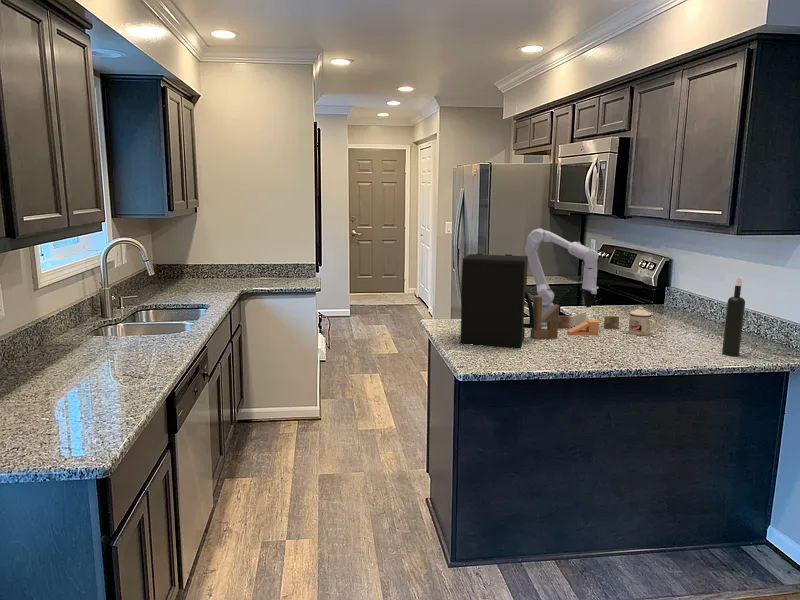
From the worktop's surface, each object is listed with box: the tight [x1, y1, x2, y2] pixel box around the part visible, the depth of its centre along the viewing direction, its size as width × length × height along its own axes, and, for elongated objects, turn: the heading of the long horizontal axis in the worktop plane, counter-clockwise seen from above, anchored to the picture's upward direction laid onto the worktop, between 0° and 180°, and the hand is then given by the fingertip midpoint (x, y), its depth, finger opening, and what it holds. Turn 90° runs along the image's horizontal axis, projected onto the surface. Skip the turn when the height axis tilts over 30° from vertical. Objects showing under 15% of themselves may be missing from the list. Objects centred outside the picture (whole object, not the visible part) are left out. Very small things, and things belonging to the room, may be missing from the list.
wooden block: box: [529, 294, 560, 340], centre depth 251 cm, size 4×11×18 cm, turn 98°
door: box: [569, 310, 587, 328], centre depth 275 cm, size 15×1×5 cm, turn 139°
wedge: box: [566, 319, 600, 337], centre depth 258 cm, size 12×4×6 cm, turn 89°
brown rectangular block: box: [558, 315, 620, 330], centre depth 269 cm, size 28×2×6 cm, turn 89°
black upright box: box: [460, 253, 534, 350], centre depth 244 cm, size 28×20×35 cm
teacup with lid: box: [628, 306, 656, 336], centre depth 258 cm, size 12×9×12 cm
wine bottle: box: [721, 275, 746, 357], centre depth 226 cm, size 6×6×30 cm
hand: (588, 307), depth 269 cm, fingers closed
